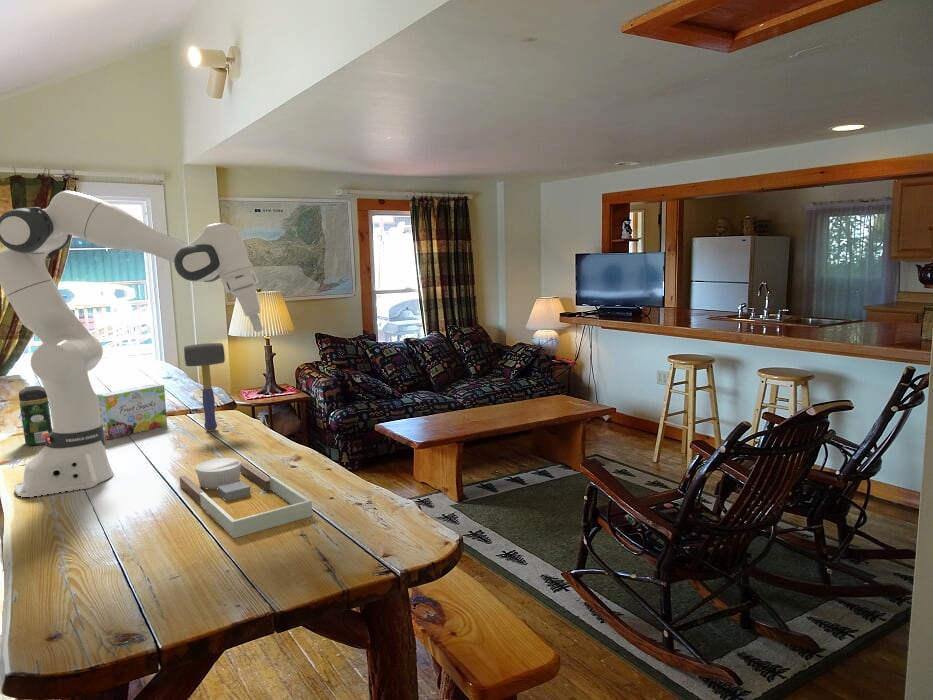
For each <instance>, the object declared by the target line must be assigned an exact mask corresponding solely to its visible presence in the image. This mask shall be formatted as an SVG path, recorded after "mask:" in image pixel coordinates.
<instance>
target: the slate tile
mask: <svg viewBox="0 0 933 700" xmlns="http://www.w3.org/2000/svg"><path fill="white" fill-rule="evenodd" d="M217 487H218V489H217V495H218V494H219V495H220V496H221V497H220V496H219V495H218V496H219V497H220V498H222V499H223V498H224V499H225V500H226V501H225V500H224V499H223V500H224V501H225V502H229V501H232V500H231V499H233V500H236V499H235V498H237V499H240V498H239V497H241V498H244V497H243V496H245V497H248V496H247V495H250V496H251V495H252V493H251V486H250V485H249V484H247V483H246V482H244V481H243V480H239V481H238V482H233V483H229V484H225V485H221V486H217ZM228 500H229V501H228Z"/></svg>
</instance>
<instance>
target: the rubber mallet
mask: <svg viewBox="0 0 933 700" xmlns="http://www.w3.org/2000/svg"><path fill="white" fill-rule="evenodd" d="M224 347H225V346H224V344H223V343H222V342H217V343H216V342H209V343H208V342H207V343H199V344H197V343H196V344H191V345H185V346H184V347H183V354H184V356H183V357H184V362H185V363H184V364H185V366H186V367H201V372H202V373H201V375H202V386H203V387H202V388H203V389H202V406H203V411H204V429H205V430H206V432H213V431H216V429H217V427H218V424H217V423H218V422H217V421H216V413H215V395H214V390H213V388H212V379H211V369H210V368H211V367H210V366H211V365H219V364H223V363H225V361H226V360H225V359H226V358H225V357H226V355H225V348H224Z"/></svg>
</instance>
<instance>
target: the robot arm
mask: <svg viewBox="0 0 933 700" xmlns="http://www.w3.org/2000/svg"><path fill="white" fill-rule="evenodd" d="M72 237H77V238H79V239H82V240H84V241H86V242H89V243H91V244H94V245H97V246H99V247H104V248H107V249H111V250H116V251H130V252H141V253H146V254H150V255H153V256H156V257H158V258H160V259H163V260H166V261H168V262H171V263H173V265H174V268H175V271H176V272H177V274H178V275H179V276H180V277H181V278H183V279H185V280H186V281H190V282H205V283H213V282H216V281H218V280H219V279H220V280H221V284H222V285H223V288H224V291H225V294H230V293H231V295H232V298H237V301H238V302H239V305H240V306H241V309H242V311H243V314H244V316H245V317H248V318H249V321H250V322H251V326H252V327H253V329H254V331H255V333H259V332H262V331H263V330H264V328H263V326H262V325H263V324H262V323H261V319H260V316H259V314H261V306H260V302H259V298H258V295H257V287H256V285H258V284H259V283H260V281H259V279H258V276H257V274H256V271H255V269H254V266H253V264H252V262H251V260H250V259H249V256H248V250H247V246H246V244H245V241H244V239H243V237H242V235H241V233H240V231H239V229H238V228H237V227H236V226H235V225H233V224H232V223H229V222H220V223H219V222H217V223H211V224H208V225H206V226H205V227H204V228H203V229H202V231H201V233H200V234H199V235H198V236H197V237H196V238H195V239H193V240H192V241H191V242H190V243H187V242H185V241H182V240H180V239H177V238H175V237H172V236H170V235H168V234H165V233H162V232H160V231H158V230H156V229H154V228H153V227H151V226H149V225H148V224H145V223H144V222H142V221H141V220H139V219H138V218H136V217H135V216H133V215H131V214H130V213H128V212H126V211H125V210H123V209H121V208H120V207H117V206H115V205H114V204H111V203H109V202H107V201H105V200H102V199H100V198H97V197H93V196H91V195H87V194H85V193H81V192H77V191H73V190H62V191H60V192H58V193H56V194H55V195H54V196H53V197H52V198H51V200H50V202H49V205H48V206H47V207H46V208H42V207H39V206H34V207H22V208H21V207H19V208H14V209H11V210H8V211H6V212H4V213H2V214H1V215H0V243H1V244H2V245H3V246H4V247H6V248H4V249H2V250H0V286H1V288H2V290H3V293H4V295H5V296H6V298H7V300H8V301H9V303H10V305H11V307H12V309H13V310H14V312H15V314H16V315H17V317H18V319H19V320H20V322H21V323H22V325H23V326H24V327H25V328H26V329H27V330H29V331H31V332H32V333H33V334H34V335H35V336H36V337H37V338H38V339H39V340H40V341H41V343H42V344H41V345H39V346H38V347H37V348H36V349H35V350H34V351H33V353H32V354H31V357H30V366H31V369H32V371H33V373H34V374H35V375H36V376H37V378H39V380H40V381H41V384H42V387H43V388H44V389H45V392H46V394H47V397H48V403H49V410H50V418H51V425H52V432H51V433H49V432H43V434H42V436H41V437H42V439H43V440H45V443H44V444H45V448H43V449H42V450H41V451H40V452H39V453H38V454H37V455H36V456H34V457H33V458H31V460H29V461H28V462H27V463H26V466H25V468H24V471H23V480H21V481H20V482H18V483H17V484H16V485H15V486H14V494H15V493H16V494H17V495H19V496H21V497H20V498H22V497H30V498H35V497H34V496H37V497H40V496H41V495H43V496H48V495H47V494H49V495H54V493H55V494H60V493H59V492H61V493H66V492H65V491H68V492H71V491H72V492H73V490H74V491H78V490H79V489H80V490H85V489H90V488H91V489H92V488H93V487H94V488H95V486H97V485H98V484H100V483H103V482H104V481H107V480H108V479H110V478H112V477H113V476H114V471H113V469H112V466H111V464H110V461H109V459H108V456H107V451H106V448H105V445H106V439H105V433H104V428H103V425H102V424H101V419H100V410H99V401H98V396H97V395H98V394H96V392H95V391H94V389H93V387H92V384H91V381H90V379H89V373H88V372H90V371H92V370H93V369H95V368H96V366H97V365H98V364H99V363H100V361H101V359H102V357H103V354H104V351H103V349H104V347H103V346H102V344H101V343H102V342H100V341H99V339H98V338H96V337H95V336H93V335H92V334H91V333H90V332H89V330H88V329H87V328H86V327H85V326H84V324H83V323H82V322H81V320H79V318H78V317H77V316H76V315H75V314H74V312H73V311H72V310H71V308H70V307H69V305H68V304H67V302H66V300H65V299H64V298H65V297H63V295H62V293H61V291H60V290H59V288H58V286H57V285H56V283H55V281H54V279H53V277H52V276H51V274H50V272H49V271H48V268H47V266H46V259H52V258H53V257H54V256H56V254H57V253H58V252H60V251H61V250H63V249H65V247H66V246H68V245H69V243H70V242H71V240H72ZM16 494H15V495H16ZM17 495H16V496H17Z"/></svg>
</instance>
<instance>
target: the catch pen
mask: <svg viewBox="0 0 933 700" xmlns="http://www.w3.org/2000/svg"><path fill="white" fill-rule="evenodd" d="M268 478H269V479H270V490H269V491H271V490H272V491H273V493H274V492H275V493H276V494H275V493H274V494H275V495H276V496H278V495H279V496H278V497H279V498H281V497H282V498H281V499H283V500H284V499H285V500H284V501H286V502H287V501H288V502H289V503H288V502H287V503H288V504H289V505H286V506H282V507H278V508H275V509H272V510H268V511H264V512H260V513H255V514H253V515H249V516H245V517H241V518H237V519H235V518H234V517H232V516H231V515H230V514H229V513H227V511H225V510H224V509H223V508H222V507H221V506H220V505H218V504H217V503H216V502H215V501H214V500H213V499H212V498H211V497H210V496H209V495H208V494H207V493H206V492H205V491H204V492H205V493H206V494H207V495H208V496H207V495H206V494H205V493H204V492H202V493H200V501H201V505H200V507H203V508H204V509H205V510H206V511H207V512H208V513H209V514H210V515H211V516H212V517H213V518H214V519H215V520H216V521H217V522H218V523H219V524H220V525H221V526H222V527H223V528H224V529H223V528H222V527H221V526H220V525H219V524H218V523H217V522H216V521H215V520H214V519H213V518H212V517H211V516H210V515H209V514H208V513H207V512H206V511H205V512H206V513H207V514H208V515H209V516H210V517H211V518H212V519H213V520H214V521H215V522H216V523H217V524H218V525H219V526H220V527H221V528H222V529H223V530H224V531H225V532H227V534H228V535H229V536H231V537H232V538H233V539H235V538H239V537H243V536H246V535H250V534H254V533H257V532H261V531H265V530H268V529H272V528H275V527H278V526H281V525H285V524H289V523H292V522H295V521H300V520H303V519H306V518H310V517H313V502H312V501H313V500H311V499H309V498H308V497H306V496H305V495H303V494H301V493H300V492H298V491H296V490H295V489H294V488H293V487H291V486H289V485H287V484H286V483H284V482H282V481H281V480H280V479H278V478H276V477H275V476H273V475H270V476H269V477H268ZM272 491H271V492H272Z"/></svg>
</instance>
